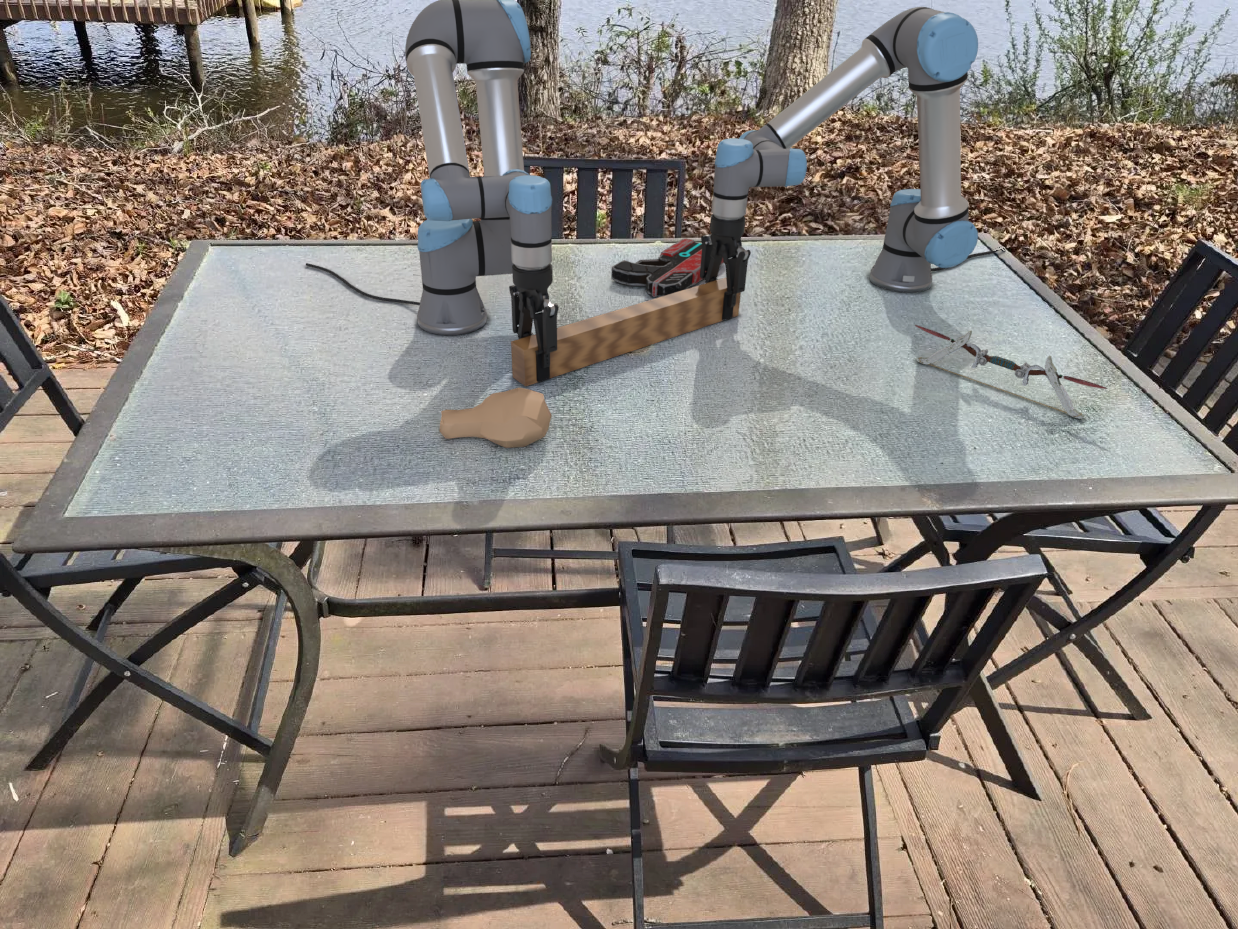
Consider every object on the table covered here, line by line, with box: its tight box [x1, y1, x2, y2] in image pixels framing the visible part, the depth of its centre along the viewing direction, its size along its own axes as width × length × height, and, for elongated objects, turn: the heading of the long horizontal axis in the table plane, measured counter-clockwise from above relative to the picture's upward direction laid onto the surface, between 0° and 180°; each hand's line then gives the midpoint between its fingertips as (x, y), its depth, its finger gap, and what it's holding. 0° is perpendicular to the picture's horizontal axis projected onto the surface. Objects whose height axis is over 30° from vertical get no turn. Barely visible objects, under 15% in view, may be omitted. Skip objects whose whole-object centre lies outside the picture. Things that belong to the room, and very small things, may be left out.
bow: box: [914, 324, 1108, 420], centre depth 174 cm, size 39×2×10 cm, turn 47°
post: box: [510, 277, 742, 387], centre depth 188 cm, size 59×5×8 cm, turn 128°
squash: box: [438, 387, 553, 449], centre depth 154 cm, size 11×20×9 cm, turn 90°
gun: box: [610, 237, 725, 298], centre depth 222 cm, size 4×31×19 cm
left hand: (535, 374), depth 176 cm, fingers closed on post, 5 cm apart
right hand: (718, 314), depth 203 cm, fingers closed on post, 5 cm apart
